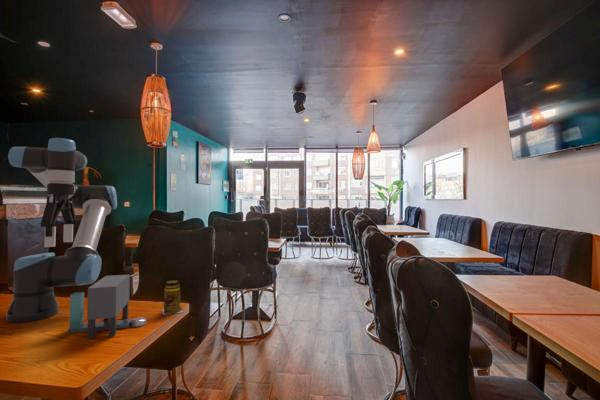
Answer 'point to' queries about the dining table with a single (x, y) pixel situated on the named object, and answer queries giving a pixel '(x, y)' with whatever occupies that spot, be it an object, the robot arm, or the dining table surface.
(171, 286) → the condiment
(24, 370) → the dining table surface
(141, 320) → the token
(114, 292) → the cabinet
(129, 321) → the l-shaped tool
